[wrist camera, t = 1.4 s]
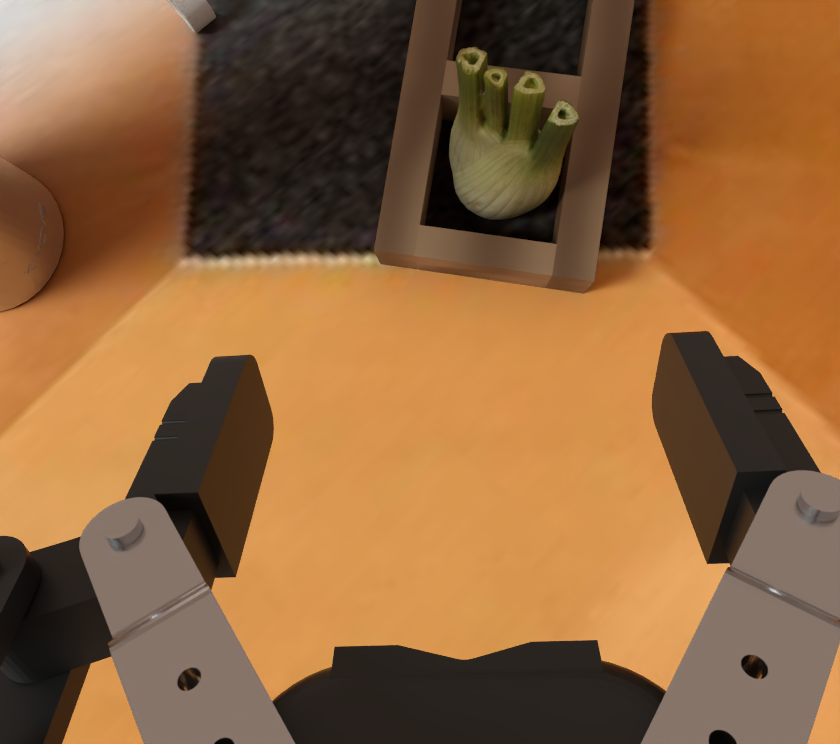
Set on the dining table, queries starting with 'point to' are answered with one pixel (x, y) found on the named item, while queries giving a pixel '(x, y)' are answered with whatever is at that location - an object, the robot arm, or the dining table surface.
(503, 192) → the fennel bulb
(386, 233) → the brown flat frame piece
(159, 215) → the dining table surface
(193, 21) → the wrench
